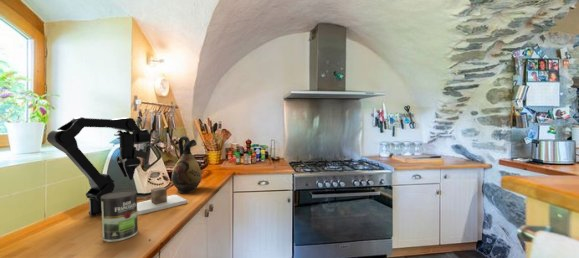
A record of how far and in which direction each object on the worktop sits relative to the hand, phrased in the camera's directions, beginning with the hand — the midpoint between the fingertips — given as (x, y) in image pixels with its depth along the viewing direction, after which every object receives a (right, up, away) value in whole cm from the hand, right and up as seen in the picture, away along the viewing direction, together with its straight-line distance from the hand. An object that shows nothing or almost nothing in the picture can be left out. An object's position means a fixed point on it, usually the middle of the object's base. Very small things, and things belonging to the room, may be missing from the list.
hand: (128, 178), depth 121 cm
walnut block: (+16, -10, -2) cm, 19 cm away
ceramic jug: (+18, -11, +22) cm, 31 cm away
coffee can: (+18, -13, -33) cm, 40 cm away
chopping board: (+16, -12, -2) cm, 20 cm away
